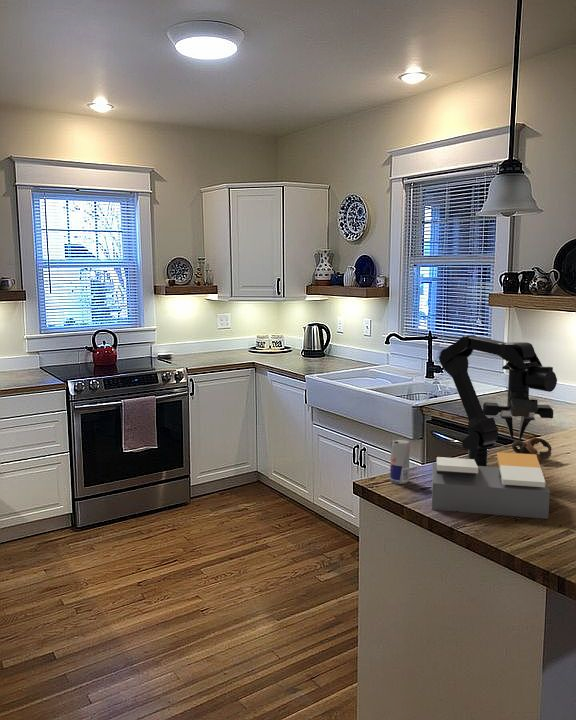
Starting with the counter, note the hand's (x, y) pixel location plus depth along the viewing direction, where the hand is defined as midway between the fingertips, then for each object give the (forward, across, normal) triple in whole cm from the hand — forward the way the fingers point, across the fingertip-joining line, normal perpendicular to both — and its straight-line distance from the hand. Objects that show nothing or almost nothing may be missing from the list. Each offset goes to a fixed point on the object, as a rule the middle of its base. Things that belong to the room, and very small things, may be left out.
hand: (515, 439), depth 186 cm
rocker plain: (+2, -17, -21) cm, 28 cm away
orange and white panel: (+2, -1, -21) cm, 21 cm away
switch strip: (+12, -9, -21) cm, 26 cm away
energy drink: (+12, -33, -10) cm, 36 cm away
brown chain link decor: (+12, +8, +22) cm, 26 cm away
